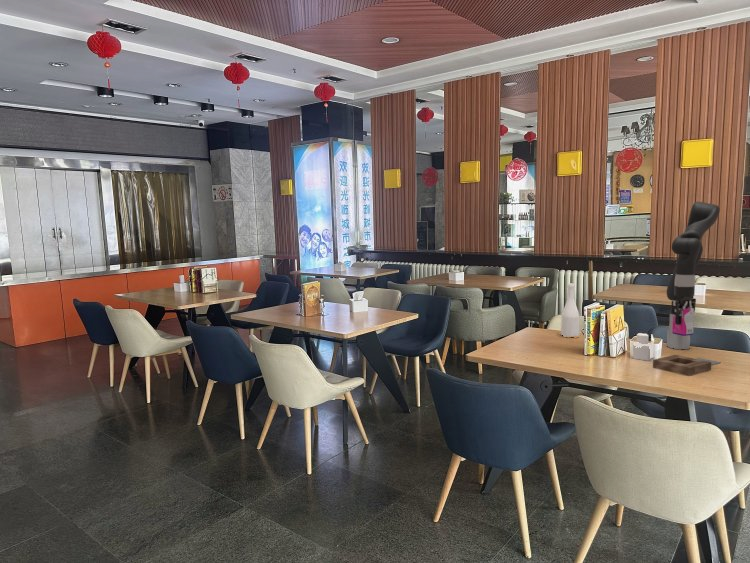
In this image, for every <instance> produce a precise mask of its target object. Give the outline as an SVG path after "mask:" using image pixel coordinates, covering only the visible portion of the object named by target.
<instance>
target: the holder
mask: <svg viewBox="0 0 750 563" xmlns="http://www.w3.org/2000/svg"><path fill="white" fill-rule="evenodd" d="M711 363H712V362H708V361H703V360H699V359H695V358H694V357H690V356H683V355H678V354H672V355H668V356H667V355H666V356H664V357H663V356H662V357H659V358H653V359H652V368H653V369H657V370H662V371H665V372H666V371H667V372H670V373H674V374H678V375H683V376H688V377H690V376H695V375H698V374H702V373H706V372H709V371H711V370H712V365H711Z"/></svg>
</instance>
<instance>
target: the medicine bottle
mask: <svg viewBox="0 0 750 563" xmlns="http://www.w3.org/2000/svg"><path fill="white" fill-rule="evenodd" d="M636 342H639V343H641V344H648V343H652V334H650V333H648V332H638V333H637V334H636ZM635 347H636V346H634V345H633V344H632V359H634V360H641V361H647V362H649V361H651V360H650V349H649V346H646V345H644V346H642V347H641V348H640V347H639V348H638V347H637V348H635Z"/></svg>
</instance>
